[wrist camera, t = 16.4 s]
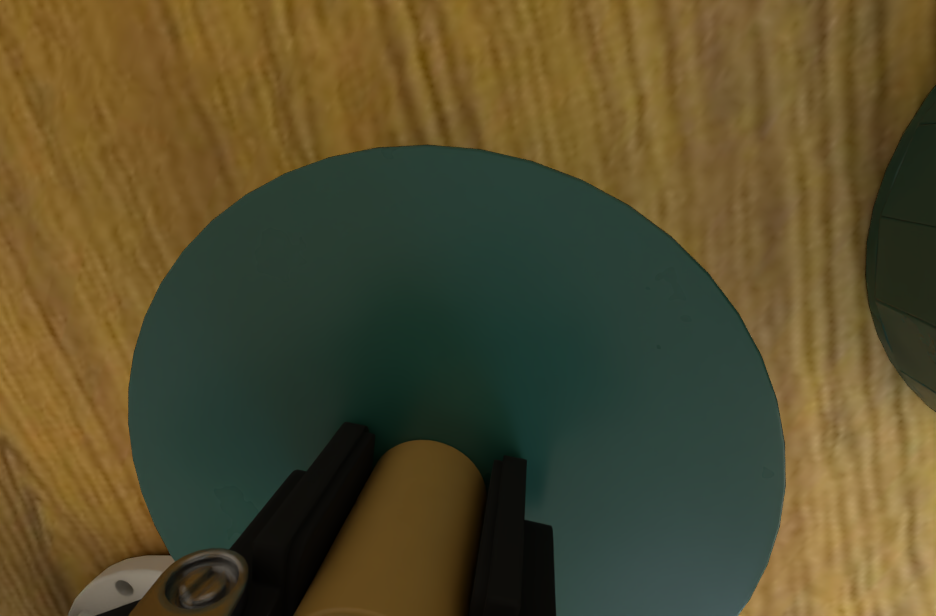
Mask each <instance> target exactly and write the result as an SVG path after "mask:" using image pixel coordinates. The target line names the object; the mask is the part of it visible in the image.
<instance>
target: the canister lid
mask: <svg viewBox="0 0 936 616" xmlns="http://www.w3.org/2000/svg"><path fill="white" fill-rule="evenodd" d="M344 422H350V423H355V424H359V425H364V426H368V429H369V433H372V434H375V445H374V455H373V464H372V472H371V474H370V476H369V478H368V480H367V482H366V483H365V485H364V487H363V489H362V491H361V493H360V494H359V496H358V498H357V500H356V502H355V504H354V505H353V507H352V509H351V511H350V513H349V515H348V516H347V518H346V520H345V522H344V524H343V525H342V527H341V529H340V531H339V533H338V535H337V536H336V538H335V540H334V542H333V544H332V546H331V547H330V549H329V551H328V553H327V555H326V557H325V558H324V560H323V562H322V564H321V566H320V568H319V569H318V571H317V573H316V575H315V577H314V578H313V580H312V582H311V584H310V586H309V588H308V589H307V591H306V593H305V595H304V597H303V599H302V600H301V602H300V604H299V606H298V608H297V610H296V611H295V613H294V615H293V616H468V612H469V606H470V599H471V593H472V587H473V580H474V574H475V568H476V562H477V555H478V549H479V543H480V536H481V530H482V524H483V518H484V511H485V505H486V499H487V494H488V488H489V483H490V478H491V473H492V467H493V462H494V459H495V460H500V461H503V457H504V455H507V456H512V457H516V458H521V459H526V460H527V472H526V496H525V519H524V520H529V521H533V522H538V523H542V524H547V525H551V526H552V528H553V543H554V570H555V597H556V616H738V615H739V614H740V612H741V611H742V609H743V608H744V607H745V605H746V604H747V603H748V601H749V600H750V598H751V596H752V594H753V592H754V590H755V588H756V586H757V584H758V582H759V580H760V578H761V576H762V575H763V573H764V571H765V569H766V567H767V565H768V562H769V558H770V555H771V552H772V549H773V546H774V543H775V540H776V537H777V534H778V530H779V527H780V521H781V514H782V508H783V501H784V494H785V487H786V480H785V441H784V435H783V430H782V424H781V419H780V413H779V408H778V402H777V398H776V395H775V392H774V390H773V387H772V384H771V381H770V378H769V375H768V373H767V370H766V367H765V364H764V361H763V358H762V356H761V354H760V352H759V350H758V348H757V346H756V345H755V343H754V341H753V339H752V337H751V335H750V333H749V332H748V330H747V328H746V326H745V324H744V322H743V320H742V319H741V317H740V315H739V313H738V312H737V310H736V309H735V308H734V306H733V305H732V304H731V302H730V301H729V300H728V298H727V297H726V296H725V294H724V293H723V292H722V291H721V289H720V288H719V287H718V285H717V284H716V283H715V281H714V280H713V279H712V277H711V276H710V275H709V273H708V272H707V271H706V270H705V269H704V268H703V267H702V266H701V265H700V264H699V263H698V262H697V261H696V260H695V259H694V258H693V257H692V256H691V255H690V254H689V253H687V252H686V251H685V250H684V249H683V248H682V247H681V246H680V245H679V244H678V243H677V242H676V241H675V240H674V239H673V238H672V237H671V236H670V235H668V234H667V233H666V232H664V231H663V230H662V229H660V228H659V227H658V226H656V225H655V224H654V223H652V222H651V221H650V220H648V219H647V218H645V217H644V216H643V215H641V214H640V213H639V212H637V211H636V210H635V209H633V208H632V207H631V206H629V205H627V204H626V203H624V202H622V201H620V200H618V199H616V198H615V197H613V196H611V195H609V194H607V193H605V192H604V191H602V190H600V189H598V188H596V187H594V186H593V185H591V184H589V183H587V182H585V181H583V180H581V179H579V178H576V177H573V176H571V175H568V174H565V173H563V172H560V171H557V170H555V169H552V168H549V167H547V166H544V165H541V164H539V163H536V162H533V161H530V160H526V159H521V158H517V157H513V156H508V155H504V154H499V153H495V152H490V151H486V150H482V149H473V148H461V147H449V146H437V145H413V146H396V147H378V148H372V149H367V150H362V151H358V152H353V153H348V154H343V155H338V156H333V157H328V158H326V159H323V160H320V161H317V162H315V163H312V164H309V165H306V166H304V167H301V168H298V169H295V170H293V171H290V172H287V173H285V174H283V175H281V176H279V177H277V178H275V179H274V180H272V181H270V182H268V183H266V184H264V185H263V186H261V187H259V188H257V189H255V190H253V191H252V192H250V193H248V194H246V195H245V196H243V197H242V198H241V199H239V200H238V201H237V202H236V203H234V204H233V205H232V206H230V207H229V208H228V209H226V210H225V211H224V212H222V213H221V214H220V215H219V216H217V217H216V218H215V219H213V220H212V221H211V222H210V223H209V224H208V225H207V226H206V227H205V228H204V229H203V230H202V232H201V233H200V234H199V235H198V236H197V237H196V238H195V239H194V240H193V241H192V242H191V243H190V244H189V245H188V246H187V247H186V248H185V249H184V251H183V252H182V253H181V255H180V256H179V258H178V259H177V261H176V262H175V263H174V265H173V266H172V268H171V269H170V271H169V272H168V274H167V275H166V277H165V278H164V279H163V281H162V282H161V284H160V286H159V288H158V290H157V292H156V294H155V297H154V299H153V301H152V303H151V305H150V307H149V309H148V311H147V313H146V315H145V317H144V321H143V324H142V327H141V331H140V334H139V337H138V340H137V344H136V347H135V350H134V355H133V361H132V368H131V375H130V382H129V391H128V425H129V433H130V440H131V448H132V456H133V461H134V465H135V469H136V473H137V476H138V480H139V484H140V488H141V492H142V495H143V497H144V500H145V502H146V505H147V507H148V510H149V512H150V515H151V517H152V520H153V522H154V525H155V527H156V529H157V531H158V532H159V534H160V536H161V538H162V540H163V542H164V544H165V545H166V547H167V549H168V551H169V553H170V555H171V557H172V558H173V559H174V561H177V560H179V559H180V558H182V557H183V556H185V555H188V554H190V553H193V552H196V551H198V550H203V549H209V548H226V549H230V548H231V547H232V545H233V544H234V543H235V542H236V540H237V539H238V538H239V537H240V535H241V534H242V533H243V532H244V530H245V529H246V528H247V527H248V526H249V524H250V523H251V522H252V521H253V519H254V518H255V517H256V516H257V514H258V513H259V512H260V511H261V509H262V508H263V507H264V506H265V505H266V503H267V502H268V501H269V500H270V498H271V497H272V496H273V495H274V493H275V492H276V491H277V490H278V488H279V487H280V486H281V485H282V483H283V482H284V481H285V480H286V479H287V477H288V476H289V475H290V474H291V473H292V472H293V471H294V470H297V469H298V470H303V471H307V470H308V469H309V467H310V466H311V465H312V464H313V462H314V461H315V460H316V458H317V457H318V456H319V454H320V453H321V452H322V450H323V449H324V448H325V446H326V445H327V444H328V443H329V441H330V440H331V439H332V437H333V436H334V435H335V433H336V432H337V431H338V429H339V428H340V427H341V425H342V424H343V423H344Z"/></svg>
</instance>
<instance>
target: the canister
mask: <svg viewBox="0 0 936 616" xmlns="http://www.w3.org/2000/svg"><path fill="white" fill-rule="evenodd" d="M866 282H867V291H868V300H869V307H870V310H871V314H872V317H873V321H874V324H875V328H876V331H877V335H878V337H879V339H880V341H881V343H882V345H883V347H884V349H885V351H886V353H887V355H888V357H889V360H890V362H891V363H892V364H893V366H894V367H895V369H896V370H897V371H898V373H899V374H900V376H901V377H902V378H903V380H904V381H905V383H906V384H907V385H908V386H909V387H910V388H911V389H912V390H913V391H914V392H915V393H916V394H917V395H918V396H919V398H920V399H921V400H922V401H923V402H924V403H925V404H926V405H927V406H929V407H930V408H931V409H933V410H934V411H935V412H936V86H935V87H934V88H933V90H932V91H931V92H930V93H929V95H928V96H927V97H926V99H925V100H924V102H923V104H922V105H921V107H920V108H919V110H918V112H917V113H916V115H915V116H914V118H913V120H912V121H911V123H910V124H909V126H908V128H907V129H906V131H905V132H904V134H903V136H902V138H901V140H900V142H899V144H898V146H897V148H896V151H895V153H894V155H893V157H892V159H891V161H890V163H889V165H888V167H887V169H886V172H885V174H884V177H883V180H882V183H881V186H880V189H879V192H878V195H877V198H876V201H875V204H874V208H873V213H872V218H871V223H870V228H869V234H868V239H867V253H866Z"/></svg>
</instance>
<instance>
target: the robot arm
mask: <svg viewBox="0 0 936 616" xmlns="http://www.w3.org/2000/svg"><path fill="white" fill-rule="evenodd" d="M374 445H375V434H372V433H369V429H368V426H364V425H359V424H355V423H350V422H344V423H343V424H342V425H341V427H340V428H339V429H338V431H337V432H336V433H335V435H334V436H333V437H332V439H331V440H330V441H329V443H328V444H327V445H326V446H325V448H324V449H323V450H322V452H321V453H320V454H319V456H318V457H317V458H316V460H315V461H314V462H313V464H312V465H311V466H310V467H309V469H308V470H307V471H303V470H298V469H297V470H294V471H293V472H292V473H291V474H290V475H289V476H288V477H287V479H286V480H285V481H284V482H283V483H282V485H281V486H280V487H279V488H278V490H277V491H276V492H275V493H274V495H273V496H272V497H271V498H270V500H269V501H268V502H267V503H266V505H265V506H264V507H263V508H262V509H261V511H260V512H259V513H258V514H257V516H256V517H255V518H254V519H253V521H252V522H251V523H250V524H249V526H248V527H247V528H246V529H245V530H244V532H243V533H242V534H241V535H240V537H239V538H238V539H237V540H236V542H235V543H234V544H233V545H232V547H231V548H230V549H226V548H209V549H203V550H198V551H196V552H193V553H190V554H188V555H185V556H183V557H182V558H180V559H179V560H177V561H174V559H173V558H172V557H171V556H165V555H146V556H140V557H135V558H129V559H125V560H123V561H121V562H118V563H116V564H114V565H112V566H109V567H108V568H107V569H106V570H104V571H103V572H102V573H101V574H99V575H98V576H97V577H96V578H95V579H94V580H92V581H91V582H90V583H89V584H88V585H87V586H86V587H85V588H84V589H83V590H82V592H81V593H80V594H79V595H78V596H77V597H76V598H75V600H74V602H73V604H72V606H71V609H70V611H69V613H68V616H293V615H294V613H295V611H296V610H297V608H298V606H299V604H300V602H301V600H302V599H303V597H304V595H305V593H306V591H307V589H308V588H309V586H310V584H311V582H312V580H313V578H314V577H315V575H316V573H317V571H318V569H319V568H320V566H321V564H322V562H323V560H324V558H325V557H326V555H327V553H328V551H329V549H330V547H331V546H332V544H333V542H334V540H335V538H336V536H337V535H338V533H339V531H340V529H341V527H342V525H343V524H344V522H345V520H346V518H347V516H348V515H349V513H350V511H351V509H352V507H353V505H354V504H355V502H356V500H357V498H358V496H359V494H360V493H361V491H362V489H363V487H364V485H365V483H366V482H367V480H368V478H369V476H370V474H371V472H372V464H373V455H374ZM526 472H527V460H526V459H521V458H516V457H512V456H507V455H504V457H503V461H500V460H495V459H494V462H493V467H492V473H491V478H490V483H489V488H488V494H487V499H486V505H485V511H484V518H483V524H482V530H481V536H480V543H479V549H478V555H477V562H476V568H475V574H474V580H473V587H472V593H471V599H470V606H469V612H468V616H556V597H555V570H554V543H553V528H552V526H551V525H547V524H542V523H538V522H533V521H529V520H524V519H525V496H526Z"/></svg>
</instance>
